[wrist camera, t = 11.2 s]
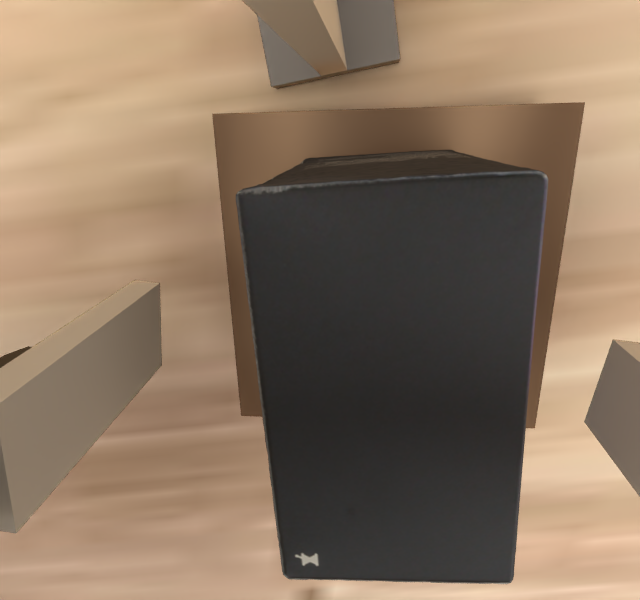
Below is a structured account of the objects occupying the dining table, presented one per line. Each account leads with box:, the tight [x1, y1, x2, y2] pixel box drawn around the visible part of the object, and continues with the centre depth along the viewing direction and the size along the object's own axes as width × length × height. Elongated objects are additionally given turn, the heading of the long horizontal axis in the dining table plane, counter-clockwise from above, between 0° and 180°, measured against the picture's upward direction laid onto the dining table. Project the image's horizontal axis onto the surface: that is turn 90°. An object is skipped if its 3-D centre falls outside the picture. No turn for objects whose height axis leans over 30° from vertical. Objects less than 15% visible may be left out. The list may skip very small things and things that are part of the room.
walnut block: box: [213, 102, 585, 428], centre depth 23 cm, size 14×14×6 cm
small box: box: [236, 150, 548, 584], centre depth 15 cm, size 11×6×10 cm, turn 4°
